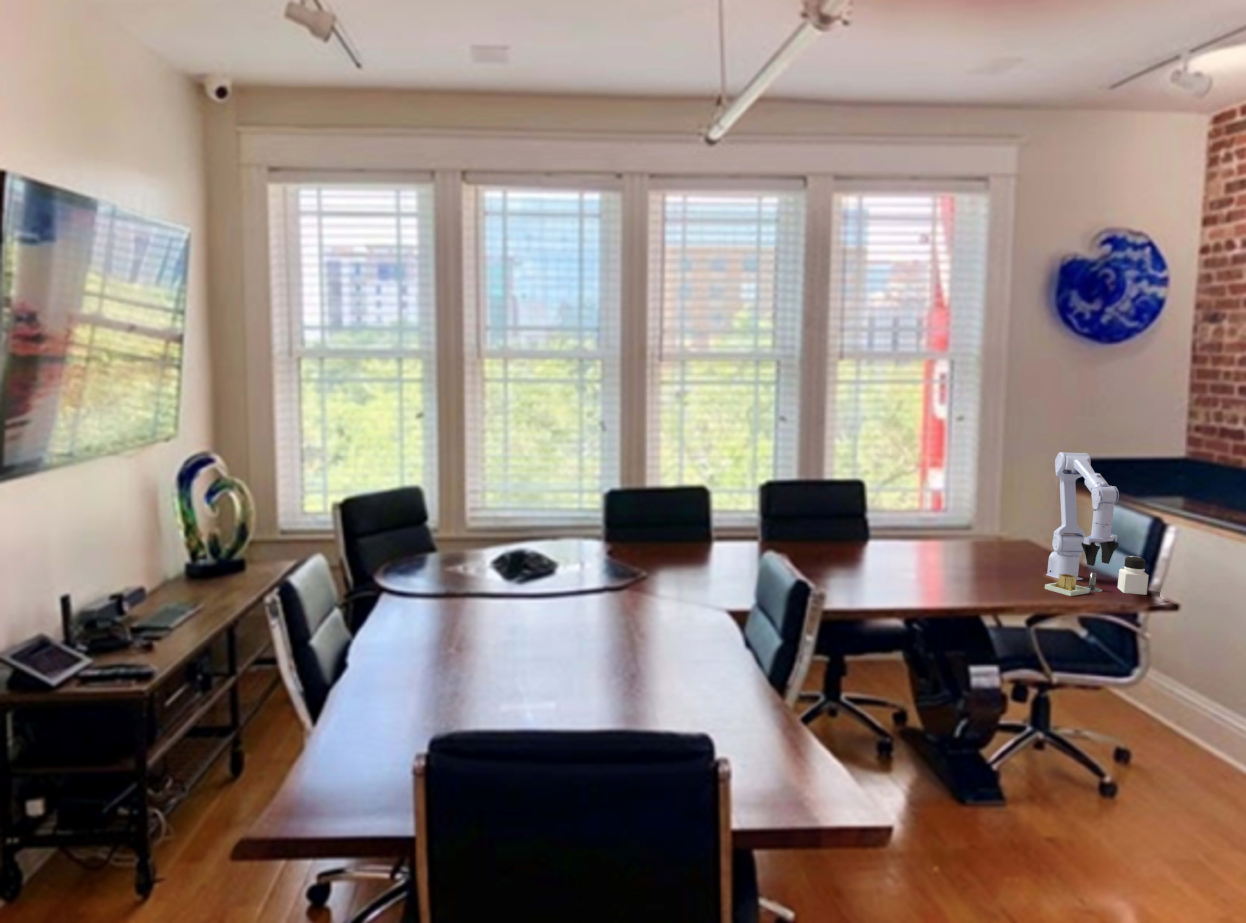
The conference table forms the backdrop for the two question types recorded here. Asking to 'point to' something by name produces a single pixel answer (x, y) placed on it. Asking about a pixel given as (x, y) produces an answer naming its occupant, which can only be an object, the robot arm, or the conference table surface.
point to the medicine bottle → (1133, 576)
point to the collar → (1066, 582)
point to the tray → (1077, 590)
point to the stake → (1093, 583)
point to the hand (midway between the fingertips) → (1098, 564)
